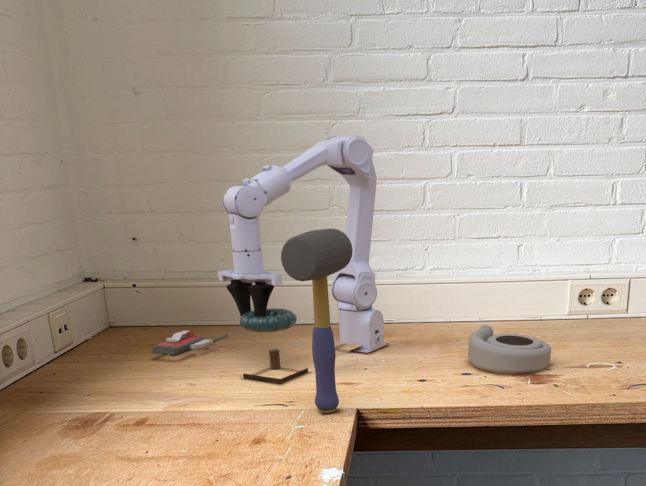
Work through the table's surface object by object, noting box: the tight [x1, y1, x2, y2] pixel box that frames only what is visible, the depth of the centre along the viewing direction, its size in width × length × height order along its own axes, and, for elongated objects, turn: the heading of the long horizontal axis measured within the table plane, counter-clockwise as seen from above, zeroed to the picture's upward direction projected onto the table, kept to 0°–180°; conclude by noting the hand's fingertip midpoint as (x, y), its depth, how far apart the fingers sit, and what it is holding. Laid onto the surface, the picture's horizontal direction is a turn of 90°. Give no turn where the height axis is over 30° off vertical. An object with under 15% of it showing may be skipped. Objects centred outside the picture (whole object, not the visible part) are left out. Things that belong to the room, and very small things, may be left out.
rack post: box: [242, 348, 309, 385], centre depth 156 cm, size 9×9×5 cm
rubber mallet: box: [280, 228, 353, 414], centre depth 130 cm, size 12×8×30 cm, turn 157°
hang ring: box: [239, 307, 298, 333], centre depth 158 cm, size 11×11×3 cm
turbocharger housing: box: [467, 324, 552, 375], centre depth 159 cm, size 17×6×15 cm
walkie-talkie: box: [151, 330, 229, 357], centre depth 177 cm, size 9×4×20 cm
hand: (253, 318), depth 160 cm, fingers closed on hang ring, 3 cm apart
